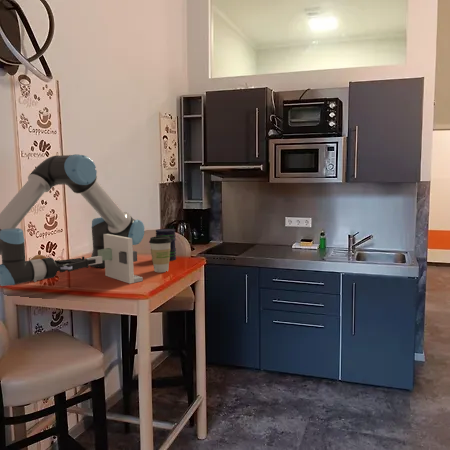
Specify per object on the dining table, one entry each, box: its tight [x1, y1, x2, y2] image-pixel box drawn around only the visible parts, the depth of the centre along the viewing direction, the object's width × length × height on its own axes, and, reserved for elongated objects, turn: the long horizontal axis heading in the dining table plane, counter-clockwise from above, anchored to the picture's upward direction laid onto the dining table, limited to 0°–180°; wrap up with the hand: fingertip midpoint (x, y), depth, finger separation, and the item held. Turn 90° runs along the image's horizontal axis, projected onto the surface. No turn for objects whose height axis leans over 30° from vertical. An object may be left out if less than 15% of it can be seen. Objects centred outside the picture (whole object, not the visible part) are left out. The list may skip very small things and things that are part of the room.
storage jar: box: [155, 228, 177, 262], centre depth 234 cm, size 10×10×15 cm
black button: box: [119, 250, 138, 263], centre depth 190 cm, size 4×6×4 cm, turn 132°
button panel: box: [103, 234, 144, 284], centre depth 195 cm, size 20×6×18 cm, turn 42°
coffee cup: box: [148, 236, 171, 273], centre depth 208 cm, size 10×10×15 cm
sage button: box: [98, 248, 112, 261], centre depth 197 cm, size 4×6×4 cm, turn 132°
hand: (101, 259), depth 187 cm, fingers closed
